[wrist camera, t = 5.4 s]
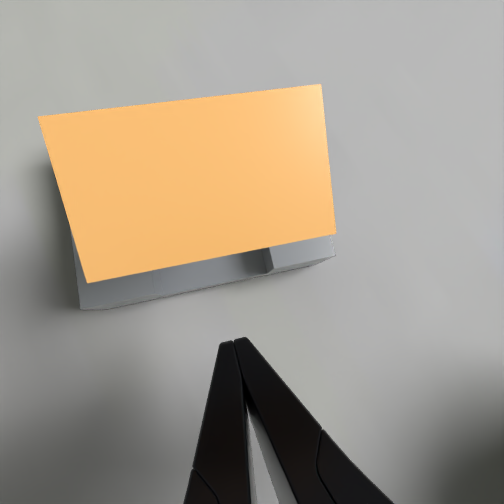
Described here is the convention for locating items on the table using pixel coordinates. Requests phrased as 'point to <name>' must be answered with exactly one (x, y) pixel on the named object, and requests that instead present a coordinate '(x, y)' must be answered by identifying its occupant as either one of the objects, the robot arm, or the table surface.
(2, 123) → the table surface
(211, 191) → the switch lever
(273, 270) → the switch housing
